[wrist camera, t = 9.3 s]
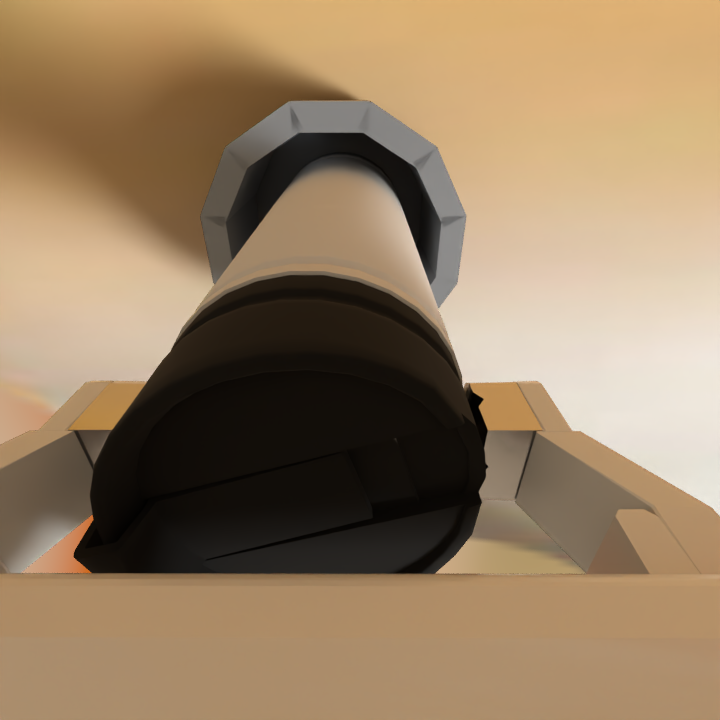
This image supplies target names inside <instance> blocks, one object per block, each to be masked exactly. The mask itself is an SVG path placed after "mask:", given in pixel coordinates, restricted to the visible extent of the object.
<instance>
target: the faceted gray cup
mask: <svg viewBox="0 0 720 720" xmlns="http://www.w3.org/2000/svg"><path fill="white" fill-rule="evenodd" d="M334 152H349V153H354V154H358V155H361V156H363V157H365V158H367V159H370V160H371V161H373V162H374V163H375V164H377V165H378V166H379V167H381V169H382V170H383V171H384V172H385V173H386V174H387V175H388V177H389V178H390V180H391V182H392V183H393V185H394V187H395V190H396V192H397V195H398V198H399V201H400V204H401V206H402V209H403V212H404V215H405V217H406V220H407V223H408V226H409V229H410V231H411V234H412V237H413V240H414V242H415V245H416V248H417V251H418V254H419V256H420V259H421V262H422V265H423V268H424V270H425V273H426V276H427V279H428V281H429V284H430V287H431V290H432V293H433V295H434V298H435V301H436V304H437V306H438V308H439V307H440V306H441V304H442V303H443V302H444V300H445V299H446V298H447V296H448V295H449V294H450V292H451V291H452V290H453V288H454V287H455V286H456V284H457V282H458V275H459V267H460V260H461V252H462V245H463V237H464V230H465V222H466V214H465V212H464V209H463V207H462V204H461V202H460V200H459V197H458V195H457V193H456V190H455V188H454V186H453V183H452V181H451V179H450V176H449V174H448V172H447V169H446V167H445V165H444V162H443V160H442V158H441V155H440V153H439V151H438V148H437V147H436V146H435V145H434V144H432V143H431V142H429V141H428V140H426V139H425V138H423V137H422V136H421V135H419V134H418V133H416V132H415V131H413V130H412V129H410V128H409V127H407V126H406V125H404V124H403V123H402V122H400V121H399V120H397V119H396V118H394V117H393V116H391V115H390V114H388V113H387V112H386V111H384V110H383V109H381V108H380V107H378V106H377V105H375V104H374V103H372V102H371V101H367V100H302V101H288V102H287V103H286V104H284V105H283V106H281V107H280V108H279V109H277V110H276V111H274V112H273V113H272V114H270V115H269V116H267V117H266V118H265V119H263V120H262V121H260V122H259V123H258V124H256V125H255V126H253V127H252V128H251V129H249V130H248V131H246V132H245V133H244V134H242V135H241V136H239V137H238V138H237V139H235V140H234V141H232V142H231V143H230V144H228V145H227V146H226V147H225V149H224V152H223V154H222V157H221V160H220V163H219V165H218V168H217V171H216V174H215V176H214V179H213V182H212V185H211V187H210V190H209V193H208V196H207V198H206V201H205V204H204V207H203V209H202V212H201V216H200V218H201V223H202V228H203V233H204V238H205V243H206V248H207V253H208V258H209V263H210V268H211V273H212V278H213V283H214V285H215V283H216V282H217V281H218V279H219V278H220V277H221V275H222V274H223V273H224V271H225V270H226V269H227V267H228V266H229V265H230V263H231V262H232V261H233V259H234V258H235V257H236V255H237V254H238V253H239V251H240V250H241V248H242V247H243V246H244V244H245V243H246V242H247V240H248V239H249V238H250V236H251V235H252V234H253V232H254V231H255V230H256V228H257V227H258V226H259V224H260V223H261V222H262V220H263V219H264V218H265V216H266V215H267V214H268V212H269V211H270V210H271V208H272V207H273V205H274V204H275V203H276V201H277V200H278V199H279V197H280V196H281V195H282V193H283V192H284V191H285V189H286V188H287V187H288V185H289V184H290V183H291V181H292V180H293V179H294V177H295V176H296V175H297V174H298V172H299V171H300V170H301V169H302V168H303V167H304V166H305V165H306V164H308V163H309V162H310V161H312V160H313V159H315V158H318V157H320V156H322V155H324V154H329V153H334Z"/></svg>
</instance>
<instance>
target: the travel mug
mask: <svg viewBox="0 0 720 720" xmlns="http://www.w3.org/2000/svg"><path fill="white" fill-rule="evenodd" d="M485 478H486V463H485V450H484V447H483V444H482V441H481V438H480V435H479V433H478V430H477V427H476V424H475V421H474V418H473V415H472V412H471V409H470V406H469V403H468V400H467V397H466V394H465V391H464V389H463V385H462V374H461V372H460V369H459V366H458V363H457V360H456V357H455V354H454V351H453V348H452V345H451V343H450V340H449V337H448V334H447V332H446V329H445V326H444V323H443V320H442V318H441V315H440V312H439V309H438V306H437V304H436V301H435V298H434V295H433V293H432V290H431V287H430V284H429V281H428V279H427V276H426V273H425V270H424V268H423V265H422V262H421V259H420V256H419V254H418V251H417V248H416V245H415V242H414V240H413V237H412V234H411V231H410V229H409V226H408V223H407V220H406V217H405V215H404V212H403V209H402V206H401V204H400V201H399V198H398V195H397V192H396V190H395V187H394V185H393V183H392V182H391V180H390V178H389V177H388V175H387V174H386V173H385V172H384V171H383V170H382V169H381V167H379V166H378V165H377V164H375V163H374V162H373V161H371V160H370V159H367V158H365V157H363V156H361V155H358V154H354V153H349V152H334V153H329V154H324V155H322V156H320V157H318V158H315V159H313V160H312V161H310V162H309V163H308V164H306V165H305V166H304V167H303V168H302V169H301V170H300V171H299V172H298V174H297V175H296V176H295V177H294V179H293V180H292V181H291V183H290V184H289V185H288V187H287V188H286V189H285V191H284V192H283V193H282V195H281V196H280V197H279V199H278V200H277V201H276V203H275V204H274V205H273V207H272V208H271V210H270V211H269V212H268V214H267V215H266V216H265V218H264V219H263V220H262V222H261V223H260V224H259V226H258V227H257V228H256V230H255V231H254V232H253V234H252V235H251V236H250V238H249V239H248V240H247V242H246V243H245V244H244V246H243V247H242V248H241V250H240V251H239V253H238V254H237V255H236V257H235V258H234V259H233V261H232V262H231V263H230V265H229V266H228V267H227V269H226V270H225V271H224V273H223V274H222V275H221V277H220V278H219V279H218V281H217V282H216V283H215V285H214V286H213V287H212V289H211V290H210V291H209V293H208V294H207V296H206V297H205V298H204V300H203V301H202V302H201V304H200V305H199V306H198V308H197V309H196V311H195V313H194V314H193V315H192V316H191V317H190V319H189V320H188V321H187V322H186V324H185V325H184V326H183V328H182V330H181V332H180V334H179V336H178V338H177V340H176V342H175V344H174V346H173V348H172V350H171V352H170V353H169V354H168V355H167V356H166V357H165V358H164V359H163V361H162V362H161V363H160V365H159V366H158V367H157V369H156V370H155V372H154V373H153V374H152V376H151V377H150V379H149V380H148V381H147V383H146V384H145V385H144V387H143V388H142V390H141V391H140V392H139V394H138V395H137V396H136V398H135V399H134V401H133V402H132V403H131V405H130V406H129V408H128V409H127V410H126V412H125V413H124V414H123V416H122V417H121V418H120V420H119V421H118V423H117V424H116V425H115V427H114V428H113V429H112V431H111V432H110V434H109V435H108V437H107V439H106V441H105V443H104V445H103V447H102V449H101V451H100V454H99V456H98V458H97V460H96V462H95V464H94V469H93V476H92V483H91V490H90V502H91V507H92V513H93V519H94V521H92V523H91V525H90V526H89V528H88V530H87V531H86V533H85V535H84V536H83V538H82V540H81V541H80V543H79V545H78V546H77V548H76V549H75V552H74V558H75V559H76V560H77V561H79V562H80V563H81V564H82V565H83V566H85V567H86V568H87V569H88V570H89V571H90V572H91V573H223V574H435V573H436V572H437V571H438V570H439V569H440V568H441V567H442V566H444V565H445V564H446V563H447V562H448V561H449V560H450V559H451V558H453V557H454V556H455V555H456V554H457V552H458V551H459V550H460V549H461V547H462V546H463V545H464V544H465V542H466V541H467V540H468V539H469V537H470V536H471V535H472V533H473V529H474V526H475V523H476V519H477V516H478V513H479V509H480V506H481V503H482V501H481V498H480V495H479V490H480V488H481V486H482V484H483V482H484V480H485Z"/></svg>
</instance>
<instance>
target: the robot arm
mask: <svg viewBox="0 0 720 720" xmlns="http://www.w3.org/2000/svg"><path fill="white" fill-rule="evenodd" d="M146 383H147V382H144V381H90V382H87V383H85V384H84V385H83V386H82V387H81V388H80V389H79V390H78V391H77V392H76V393H75V394H74V395H73V396H72V397H71V398H70V399H69V400H68V401H67V402H66V403H65V404H64V405H63V406H62V407H61V408H60V409H59V410H58V411H57V412H56V413H55V414H54V415H53V416H52V417H51V418H50V419H49V420H48V421H47V422H46V423H45V424H44V425H43V426H42V427H41V428H40V429H39V430H38V431H28V432H26V433H24V434H22V435H20V436H18V437H15V438H13V439H11V440H9V441H7V442H5V443H3V444H1V445H0V720H720V517H719V515H718V514H717V513H716V512H715V511H714V510H713V508H711V507H710V506H708V505H706V504H704V503H703V502H701V501H699V500H698V499H696V498H694V497H692V496H691V495H689V494H687V493H685V492H684V491H682V490H680V489H679V488H677V487H675V486H673V485H672V484H670V483H668V482H667V481H665V480H663V479H661V478H660V477H658V476H656V475H654V474H653V473H651V472H649V471H648V470H646V469H644V468H642V467H641V466H639V465H637V464H636V463H634V462H632V461H630V460H629V459H627V458H625V457H623V456H622V455H620V454H618V453H617V452H615V451H613V450H611V449H610V448H608V447H606V446H605V445H603V444H601V443H599V442H598V441H596V440H594V439H593V438H591V437H589V436H587V435H586V434H584V433H582V432H580V431H572V430H571V428H570V427H569V425H568V424H567V422H566V420H565V419H564V417H563V416H562V414H561V413H560V411H559V410H558V408H557V407H556V405H555V404H554V402H553V401H552V399H551V398H550V396H549V395H548V393H547V391H546V390H545V388H544V387H543V385H542V384H541V383H539V382H538V381H523V382H498V383H466V384H465V386H464V391H465V394H466V397H467V400H468V403H469V406H470V409H471V412H472V415H473V418H474V421H475V424H476V427H477V430H478V433H479V435H480V438H481V441H482V444H483V447H484V450H485V463H486V478H485V480H484V482H483V484H482V486H481V488H480V490H479V495H480V498H481V499H487V500H516V501H515V502H516V503H517V504H518V505H519V506H520V507H521V508H522V509H523V510H524V511H525V512H526V513H527V514H528V515H529V516H530V517H531V518H532V519H533V520H534V521H535V522H536V523H537V524H538V525H539V526H540V527H541V528H542V529H543V530H544V531H545V532H546V533H547V534H548V535H549V536H550V537H551V538H552V539H553V540H554V541H555V542H556V543H557V544H558V545H559V546H560V547H561V548H562V549H563V550H564V551H565V552H566V553H567V554H568V555H569V556H570V557H571V558H572V559H573V560H574V561H575V562H576V563H577V564H578V565H579V566H580V567H581V568H582V569H583V570H584V571H585V572H586V574H223V573H21V572H22V571H24V570H25V569H26V568H27V567H29V566H30V565H31V564H32V563H33V562H35V561H36V560H37V559H38V558H40V557H41V556H42V555H43V554H45V553H46V552H47V551H48V550H50V548H52V547H53V546H54V545H56V544H57V543H58V542H59V541H61V540H62V539H63V538H64V537H65V536H67V535H68V534H69V533H70V532H72V531H73V530H74V529H75V528H76V527H78V526H79V525H80V524H81V523H83V522H84V521H85V520H86V519H87V518H88V517H90V516H91V515H92V514H93V513H92V507H91V502H90V490H91V483H92V476H93V469H94V464H95V462H96V460H97V458H98V456H99V454H100V451H101V449H102V447H103V445H104V443H105V441H106V439H107V437H108V435H109V434H110V432H111V431H112V429H113V428H114V427H115V425H116V424H117V423H118V421H119V420H120V418H121V417H122V416H123V414H124V413H125V412H126V410H127V409H128V408H129V406H130V405H131V403H132V402H133V401H134V399H135V398H136V396H137V395H138V394H139V392H140V391H141V390H142V388H143V387H144V385H145V384H146Z"/></svg>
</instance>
